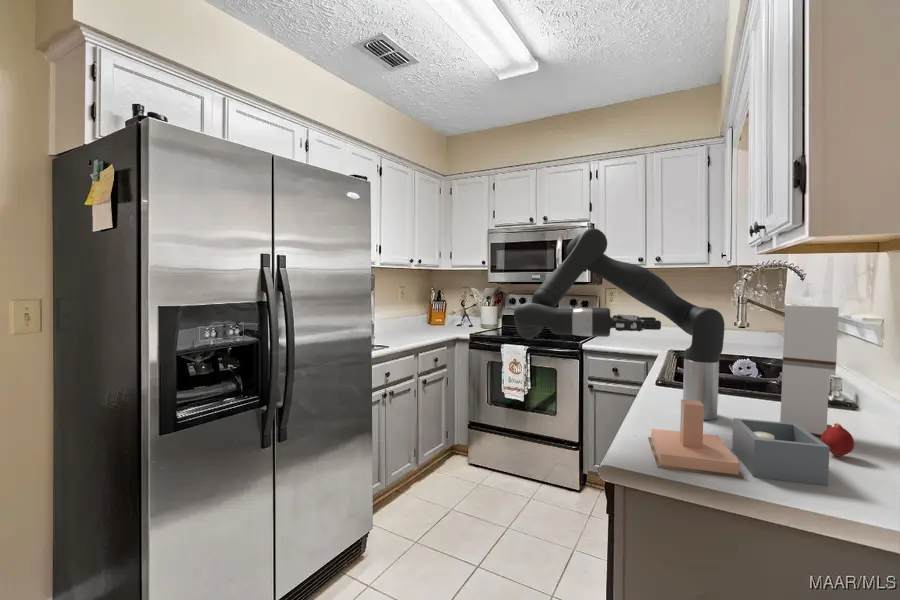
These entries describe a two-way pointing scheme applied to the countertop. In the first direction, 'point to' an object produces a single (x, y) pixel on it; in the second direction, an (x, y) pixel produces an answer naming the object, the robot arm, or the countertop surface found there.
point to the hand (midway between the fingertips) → (658, 323)
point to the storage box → (780, 451)
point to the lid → (693, 444)
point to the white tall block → (808, 365)
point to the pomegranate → (838, 440)
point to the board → (688, 468)
